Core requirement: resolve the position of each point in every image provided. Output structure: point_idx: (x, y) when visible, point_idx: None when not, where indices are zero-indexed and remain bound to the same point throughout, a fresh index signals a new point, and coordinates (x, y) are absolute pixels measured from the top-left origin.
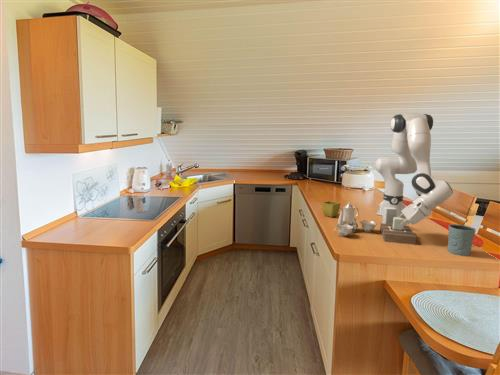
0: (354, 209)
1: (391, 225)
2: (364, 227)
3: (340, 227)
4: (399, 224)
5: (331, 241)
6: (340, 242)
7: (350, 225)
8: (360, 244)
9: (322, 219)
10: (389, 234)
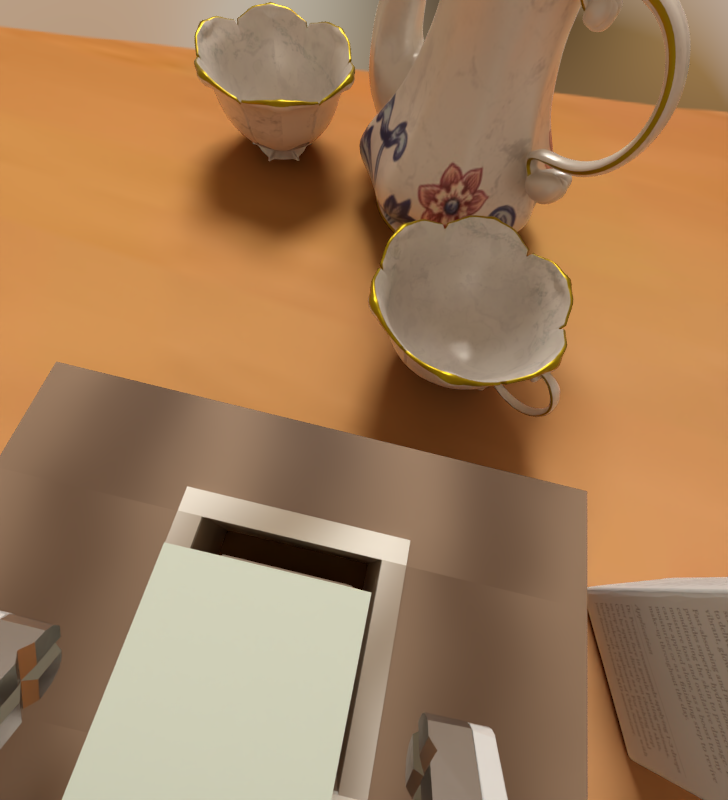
0: (598, 4)
1: (497, 629)
2: (408, 272)
3: (332, 70)
4: (18, 615)
5: (148, 46)
6: (120, 82)
7: (378, 132)
8: (50, 180)
9: (706, 128)
10: (30, 414)
